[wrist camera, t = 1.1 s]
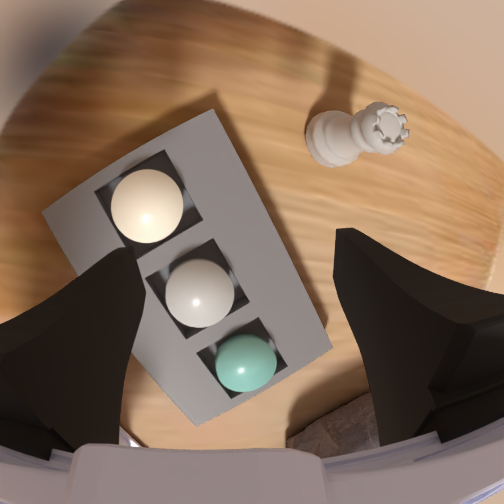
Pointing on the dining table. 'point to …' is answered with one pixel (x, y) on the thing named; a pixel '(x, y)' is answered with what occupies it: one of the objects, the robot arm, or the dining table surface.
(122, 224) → the cream button
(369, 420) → the perforated stone tool
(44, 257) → the dining table surface
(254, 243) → the button board
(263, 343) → the teal button
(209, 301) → the grey button
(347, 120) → the rook chess piece
